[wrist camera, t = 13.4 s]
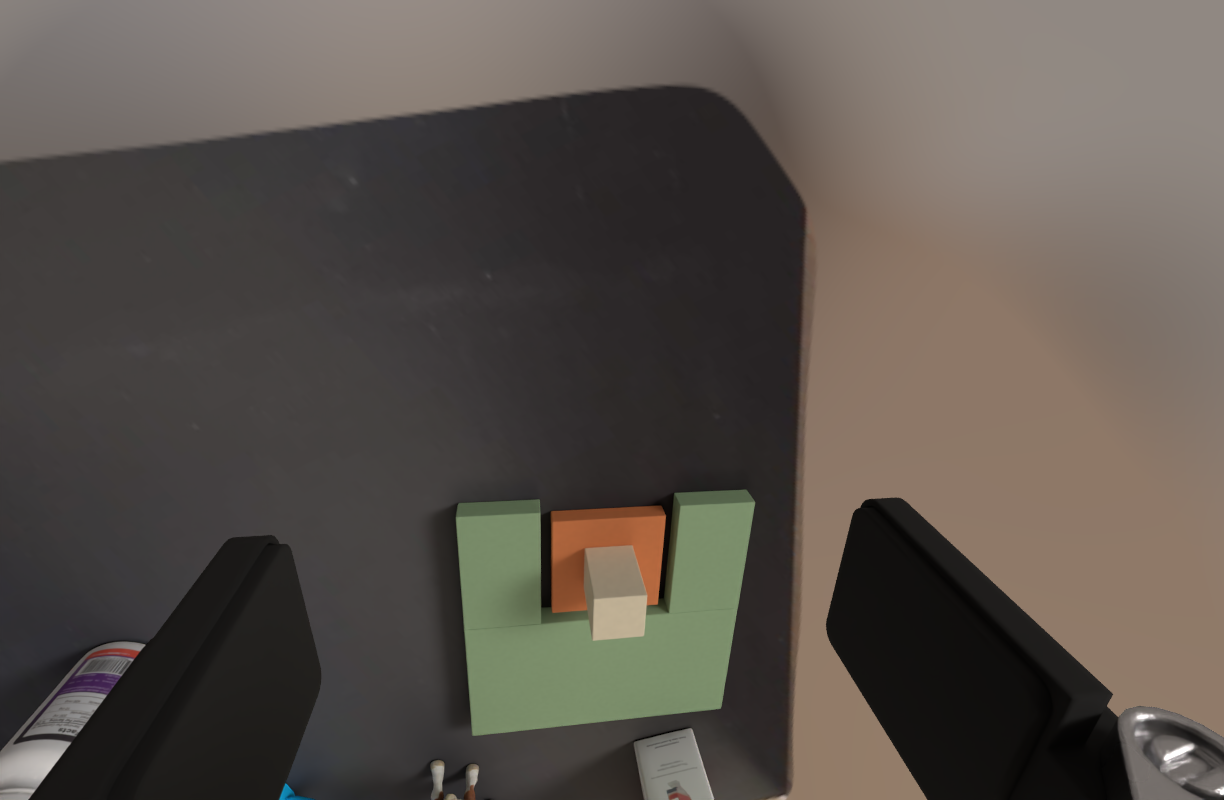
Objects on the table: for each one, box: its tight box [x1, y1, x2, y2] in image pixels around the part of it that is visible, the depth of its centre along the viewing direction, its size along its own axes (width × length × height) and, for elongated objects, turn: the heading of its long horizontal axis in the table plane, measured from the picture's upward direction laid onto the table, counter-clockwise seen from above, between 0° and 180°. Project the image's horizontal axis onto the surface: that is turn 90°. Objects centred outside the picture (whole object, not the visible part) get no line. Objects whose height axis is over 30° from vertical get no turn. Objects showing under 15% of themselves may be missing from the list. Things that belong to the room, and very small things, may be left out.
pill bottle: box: [0, 641, 145, 800], centre depth 30 cm, size 5×5×10 cm
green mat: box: [456, 490, 755, 736], centre depth 38 cm, size 18×18×2 cm
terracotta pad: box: [551, 505, 666, 641], centre depth 34 cm, size 7×7×6 cm
